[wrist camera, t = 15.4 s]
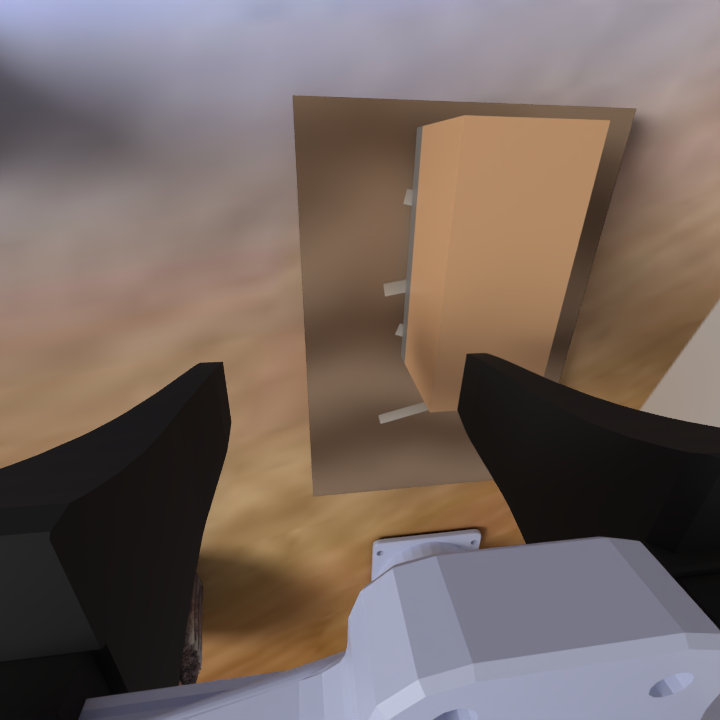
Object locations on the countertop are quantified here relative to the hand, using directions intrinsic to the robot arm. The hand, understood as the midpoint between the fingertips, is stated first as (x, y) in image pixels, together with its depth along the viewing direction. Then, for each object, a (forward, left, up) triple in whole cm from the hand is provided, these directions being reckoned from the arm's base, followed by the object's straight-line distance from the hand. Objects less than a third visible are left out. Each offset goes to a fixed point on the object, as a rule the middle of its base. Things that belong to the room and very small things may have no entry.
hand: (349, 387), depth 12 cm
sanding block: (+2, -6, -7) cm, 10 cm away
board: (-2, -6, -9) cm, 11 cm away
